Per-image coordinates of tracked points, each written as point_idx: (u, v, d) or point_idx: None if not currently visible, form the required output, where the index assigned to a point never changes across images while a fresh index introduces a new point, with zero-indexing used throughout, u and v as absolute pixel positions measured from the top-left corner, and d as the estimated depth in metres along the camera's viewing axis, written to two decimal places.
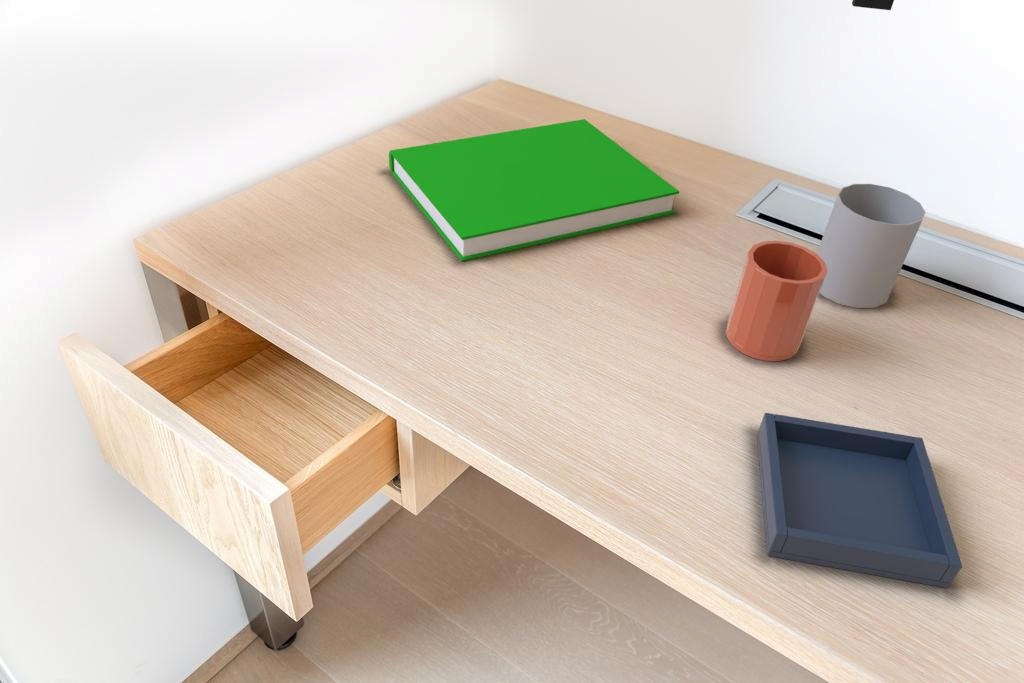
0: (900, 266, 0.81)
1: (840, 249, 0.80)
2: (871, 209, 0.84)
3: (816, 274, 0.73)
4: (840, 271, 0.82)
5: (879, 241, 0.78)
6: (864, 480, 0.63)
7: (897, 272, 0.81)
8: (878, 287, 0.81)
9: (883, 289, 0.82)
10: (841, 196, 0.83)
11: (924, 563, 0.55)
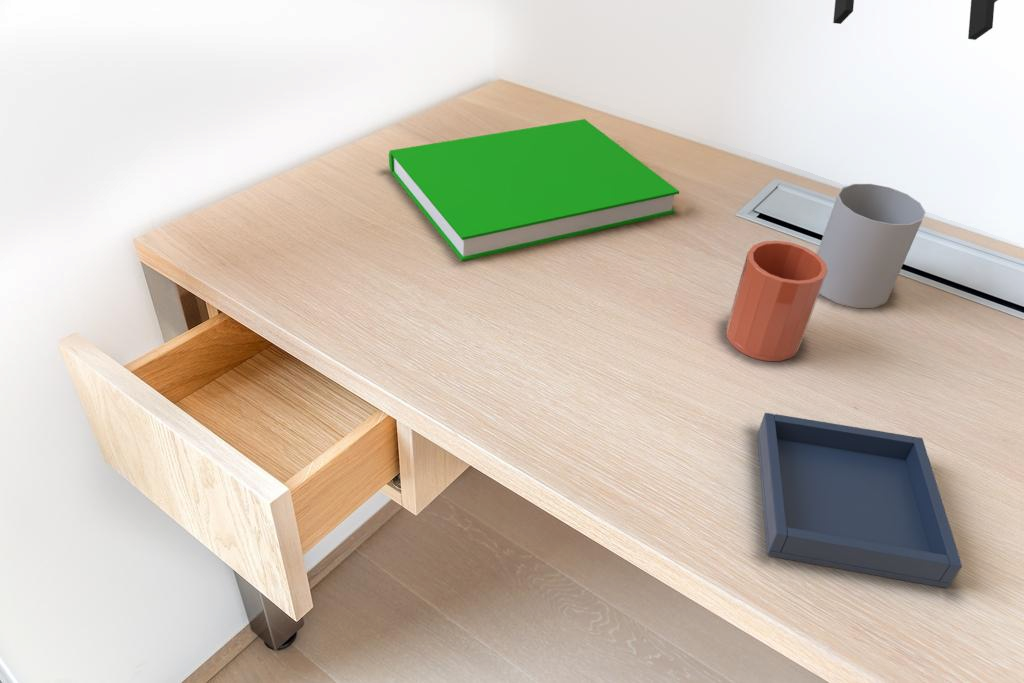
0: (900, 266, 0.81)
1: (840, 249, 0.80)
2: (871, 209, 0.84)
3: (816, 274, 0.73)
4: (840, 271, 0.82)
5: (879, 241, 0.78)
6: (864, 480, 0.63)
7: (897, 272, 0.81)
8: (878, 287, 0.81)
9: (883, 289, 0.82)
10: (841, 196, 0.83)
11: (924, 563, 0.55)
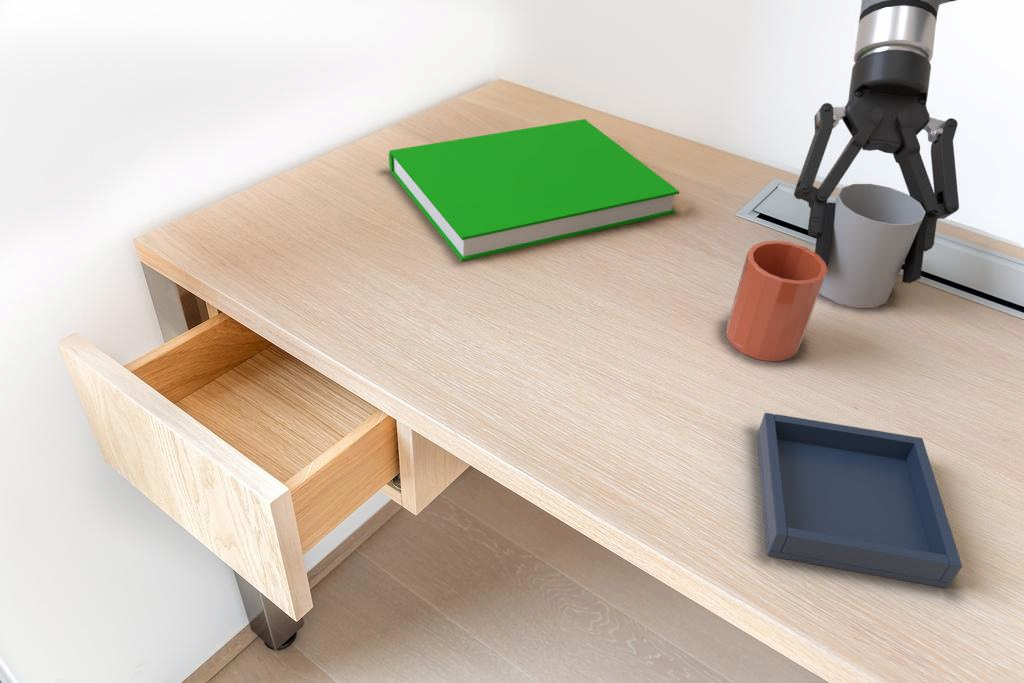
0: (900, 266, 0.81)
1: (840, 249, 0.80)
2: (871, 209, 0.84)
3: (816, 274, 0.73)
4: (840, 271, 0.82)
5: (879, 241, 0.78)
6: (864, 480, 0.63)
7: (897, 272, 0.81)
8: (878, 287, 0.81)
9: (883, 289, 0.82)
10: (841, 196, 0.83)
11: (924, 563, 0.55)
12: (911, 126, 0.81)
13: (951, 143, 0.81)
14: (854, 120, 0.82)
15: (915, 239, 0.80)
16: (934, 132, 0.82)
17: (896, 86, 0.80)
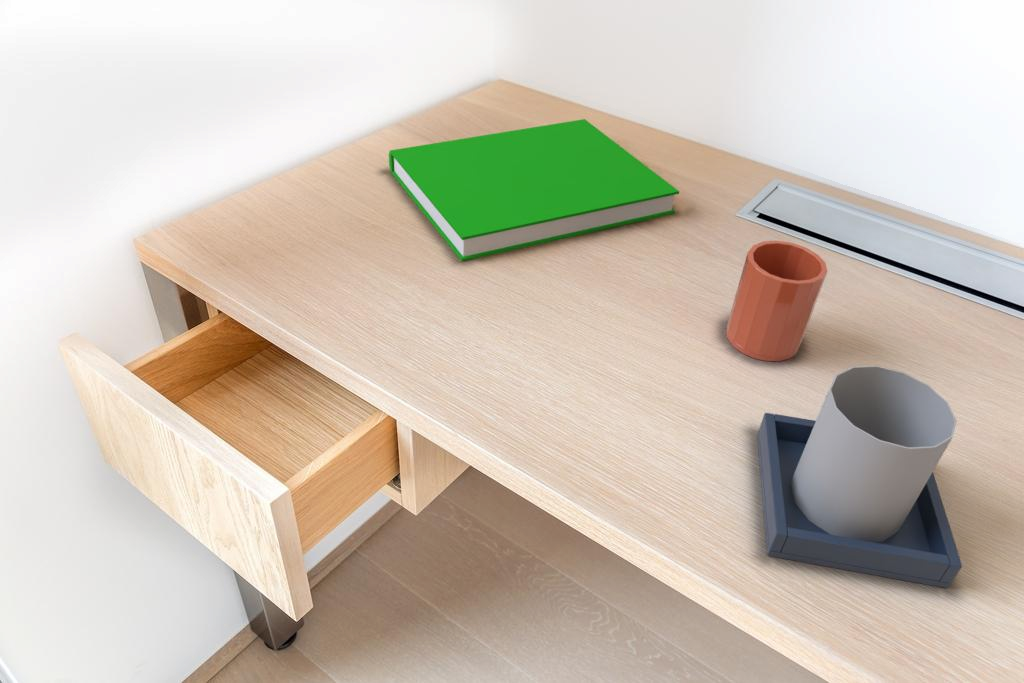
0: (919, 491, 0.56)
1: (833, 468, 0.56)
2: (877, 397, 0.60)
3: (816, 274, 0.73)
4: (834, 495, 0.57)
5: (890, 467, 0.54)
6: None
7: (915, 498, 0.57)
8: (887, 519, 0.57)
9: (894, 520, 0.57)
10: (835, 385, 0.58)
11: (924, 563, 0.55)
12: None
13: None
14: None
15: None
16: None
17: None
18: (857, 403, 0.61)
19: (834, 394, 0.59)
